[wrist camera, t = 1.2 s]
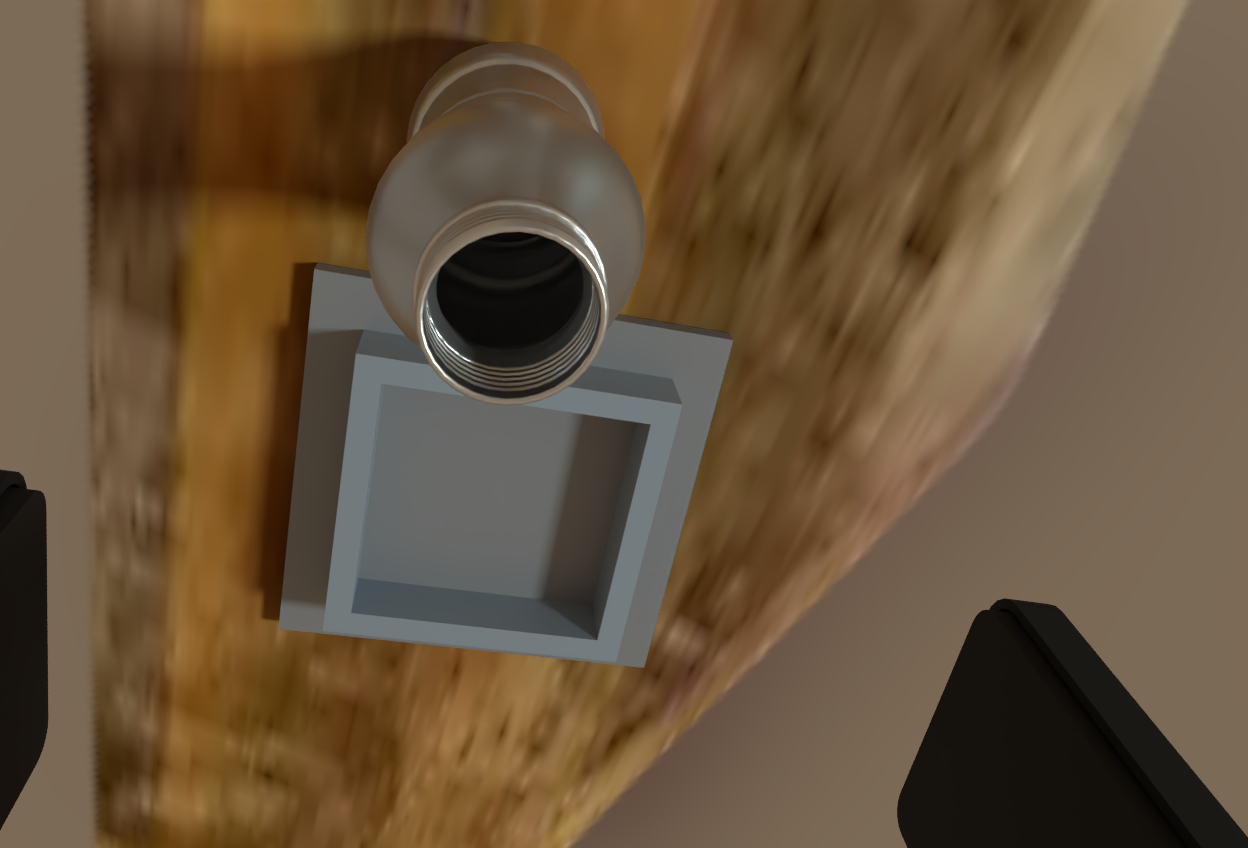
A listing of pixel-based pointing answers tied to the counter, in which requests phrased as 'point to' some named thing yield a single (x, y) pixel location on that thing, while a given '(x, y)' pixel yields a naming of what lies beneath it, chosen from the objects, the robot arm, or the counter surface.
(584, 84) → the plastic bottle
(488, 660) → the counter surface
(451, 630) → the blue-grey square tray
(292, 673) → the counter surface
